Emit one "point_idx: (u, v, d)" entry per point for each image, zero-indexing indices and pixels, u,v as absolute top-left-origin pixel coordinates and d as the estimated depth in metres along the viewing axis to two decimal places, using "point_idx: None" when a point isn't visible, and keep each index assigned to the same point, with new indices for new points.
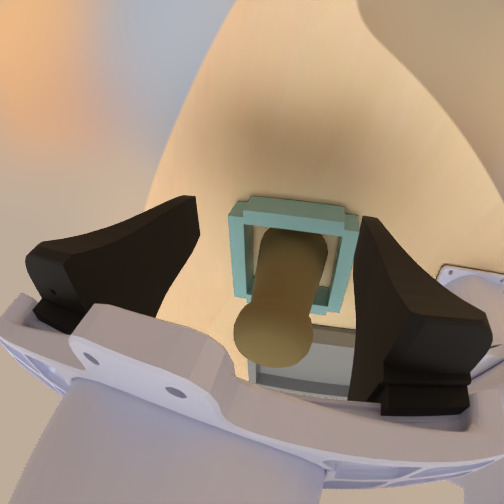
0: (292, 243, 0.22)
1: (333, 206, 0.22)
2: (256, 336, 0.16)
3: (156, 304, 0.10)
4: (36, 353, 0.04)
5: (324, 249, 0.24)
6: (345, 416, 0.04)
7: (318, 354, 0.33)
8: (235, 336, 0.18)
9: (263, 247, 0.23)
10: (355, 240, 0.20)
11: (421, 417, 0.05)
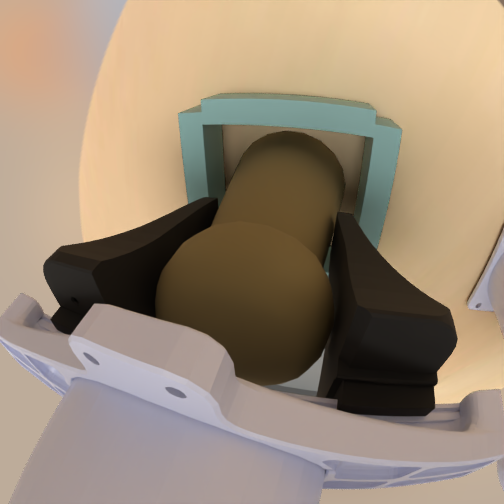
0: (285, 152, 0.12)
1: (351, 101, 0.12)
2: (191, 307, 0.06)
3: None
4: (36, 353, 0.04)
5: (340, 175, 0.14)
6: (345, 416, 0.04)
7: None
8: (156, 311, 0.08)
9: (237, 168, 0.13)
10: (395, 145, 0.10)
11: (381, 417, 0.05)
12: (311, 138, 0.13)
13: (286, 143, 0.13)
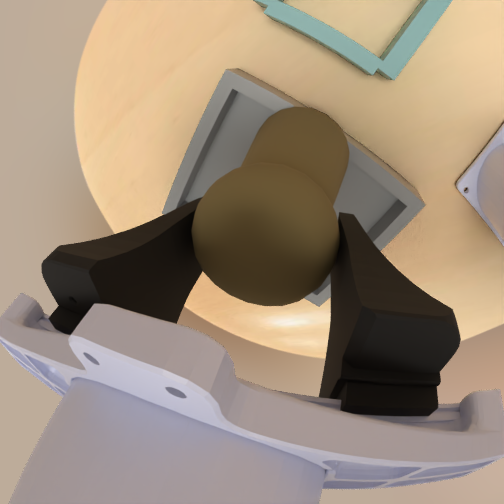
0: (296, 121, 0.13)
1: None
2: (225, 219, 0.08)
3: (177, 309, 0.10)
4: (36, 353, 0.04)
5: (344, 142, 0.15)
6: (344, 417, 0.04)
7: None
8: (192, 235, 0.10)
9: (255, 137, 0.15)
10: None
11: (385, 417, 0.05)
12: (318, 112, 0.15)
13: (296, 115, 0.14)
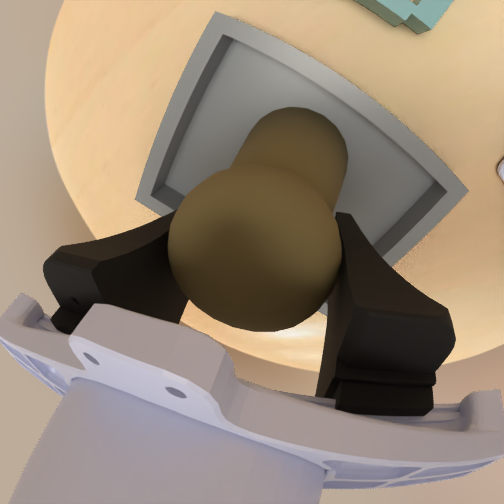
0: (290, 121, 0.12)
1: None
2: (203, 232, 0.07)
3: (180, 310, 0.10)
4: (36, 353, 0.04)
5: (343, 145, 0.14)
6: (344, 417, 0.04)
7: None
8: (168, 251, 0.08)
9: (245, 140, 0.14)
10: None
11: (380, 416, 0.05)
12: (314, 112, 0.14)
13: (290, 115, 0.13)
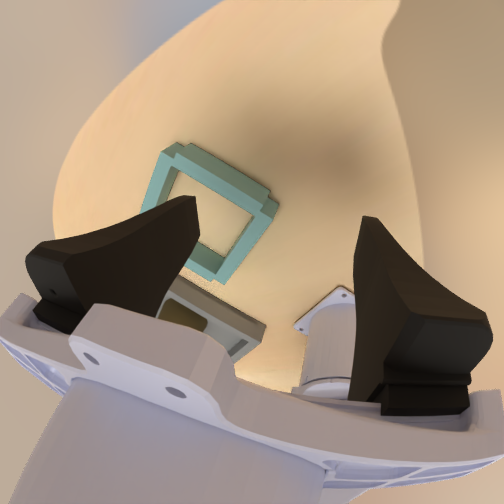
0: (171, 317, 0.31)
1: (260, 186, 0.22)
2: None
3: (156, 304, 0.10)
4: (36, 353, 0.04)
5: (200, 318, 0.33)
6: (345, 416, 0.04)
7: None
8: None
9: (158, 316, 0.33)
10: (265, 225, 0.22)
11: (421, 417, 0.05)
12: None
13: (173, 309, 0.32)
